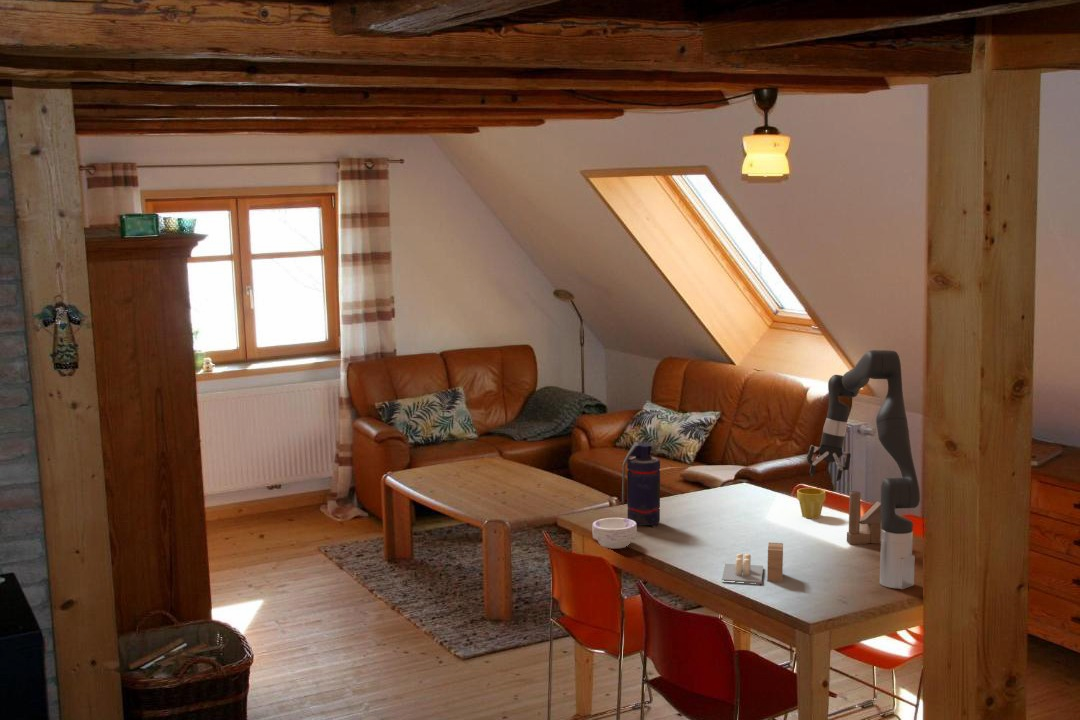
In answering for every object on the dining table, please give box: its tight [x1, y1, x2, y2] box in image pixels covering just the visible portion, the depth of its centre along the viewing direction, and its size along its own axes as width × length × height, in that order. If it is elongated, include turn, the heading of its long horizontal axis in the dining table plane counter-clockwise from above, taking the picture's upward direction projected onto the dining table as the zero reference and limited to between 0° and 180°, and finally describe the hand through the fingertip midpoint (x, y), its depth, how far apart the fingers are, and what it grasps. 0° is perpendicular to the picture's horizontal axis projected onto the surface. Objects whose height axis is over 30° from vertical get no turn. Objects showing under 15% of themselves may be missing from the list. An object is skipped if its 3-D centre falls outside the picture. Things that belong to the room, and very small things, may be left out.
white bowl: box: [591, 517, 638, 550], centre depth 398 cm, size 15×15×8 cm
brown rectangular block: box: [766, 542, 784, 583], centre depth 363 cm, size 8×4×10 cm, turn 167°
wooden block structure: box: [846, 490, 881, 546], centre depth 397 cm, size 4×11×18 cm, turn 95°
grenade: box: [621, 441, 661, 527], centre depth 423 cm, size 14×12×30 cm
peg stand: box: [721, 553, 764, 585], centre depth 365 cm, size 16×12×6 cm
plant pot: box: [796, 487, 827, 519], centre depth 432 cm, size 10×10×10 cm
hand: (824, 478), depth 402 cm, fingers open, 8 cm apart
